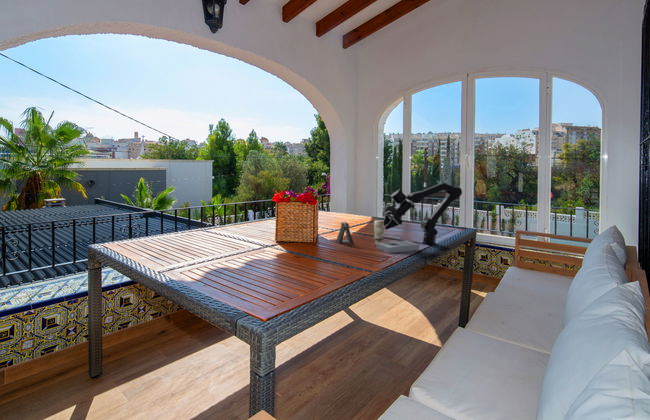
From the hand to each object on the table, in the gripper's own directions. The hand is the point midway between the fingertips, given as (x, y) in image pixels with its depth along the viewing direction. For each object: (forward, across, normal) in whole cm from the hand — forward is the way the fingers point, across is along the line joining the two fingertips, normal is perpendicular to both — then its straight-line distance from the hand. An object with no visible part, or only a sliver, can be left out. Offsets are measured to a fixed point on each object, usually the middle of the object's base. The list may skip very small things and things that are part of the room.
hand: (383, 227), depth 207 cm
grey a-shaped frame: (+22, -8, -8) cm, 25 cm away
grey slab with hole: (+3, +12, +11) cm, 17 cm away
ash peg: (+9, 0, +5) cm, 10 cm away
